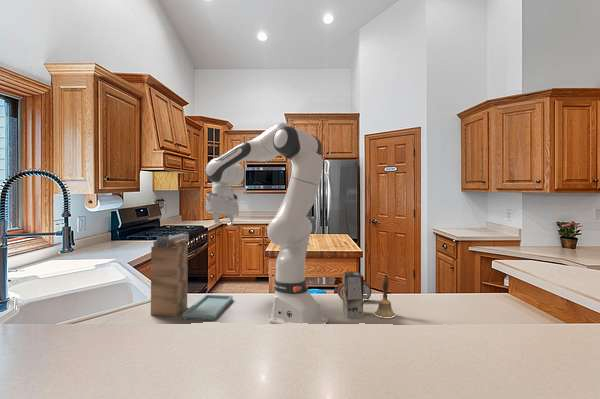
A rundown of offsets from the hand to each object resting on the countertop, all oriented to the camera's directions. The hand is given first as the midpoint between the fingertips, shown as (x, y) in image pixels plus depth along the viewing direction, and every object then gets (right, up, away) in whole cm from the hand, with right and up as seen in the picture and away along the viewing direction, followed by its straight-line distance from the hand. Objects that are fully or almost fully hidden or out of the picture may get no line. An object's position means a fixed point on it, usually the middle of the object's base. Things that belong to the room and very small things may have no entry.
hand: (223, 224), depth 155 cm
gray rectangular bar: (-16, -6, -18) cm, 25 cm away
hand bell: (+68, -34, -21) cm, 79 cm away
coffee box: (+55, -34, -21) cm, 69 cm away
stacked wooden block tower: (-17, -33, -21) cm, 42 cm away
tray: (-2, -33, -18) cm, 37 cm away
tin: (+59, -34, -4) cm, 68 cm away
